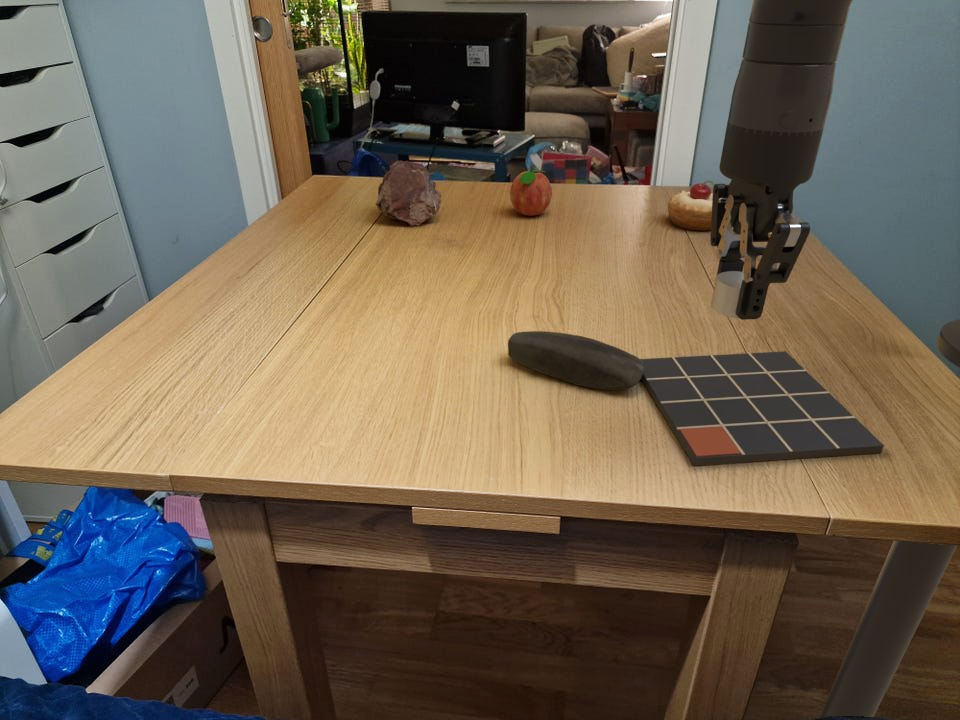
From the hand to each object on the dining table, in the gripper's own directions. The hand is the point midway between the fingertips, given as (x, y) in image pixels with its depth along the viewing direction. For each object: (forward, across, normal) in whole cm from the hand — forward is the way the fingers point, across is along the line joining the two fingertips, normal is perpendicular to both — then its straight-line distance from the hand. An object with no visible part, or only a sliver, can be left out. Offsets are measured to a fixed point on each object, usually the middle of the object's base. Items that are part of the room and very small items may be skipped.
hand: (735, 305), depth 64 cm
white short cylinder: (0, 0, 0) cm, 0 cm away
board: (+15, +5, -6) cm, 17 cm away
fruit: (+15, +79, +6) cm, 80 cm away
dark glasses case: (+15, +14, +12) cm, 24 cm away
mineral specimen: (+15, +80, +31) cm, 87 cm away
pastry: (+15, +69, -26) cm, 75 cm away
